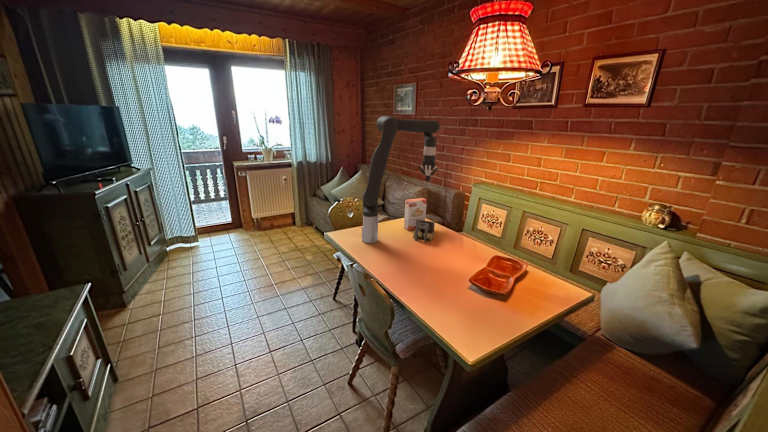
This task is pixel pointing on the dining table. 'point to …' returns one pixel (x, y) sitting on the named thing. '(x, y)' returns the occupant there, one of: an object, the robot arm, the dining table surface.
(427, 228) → the dark grey legged block
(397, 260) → the dining table surface
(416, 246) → the dining table surface
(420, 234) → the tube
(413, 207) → the cracker box
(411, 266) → the dining table surface
